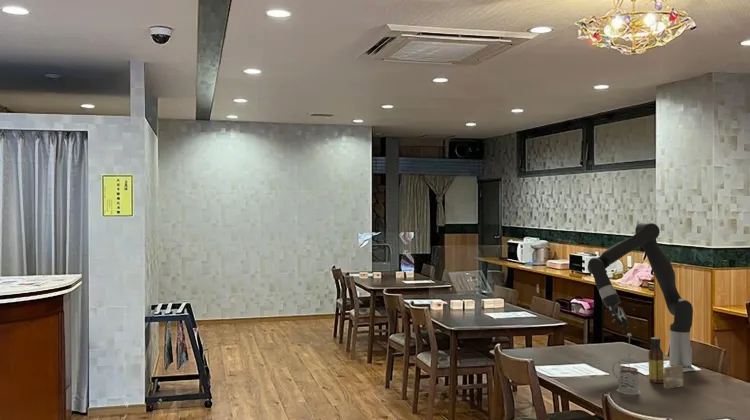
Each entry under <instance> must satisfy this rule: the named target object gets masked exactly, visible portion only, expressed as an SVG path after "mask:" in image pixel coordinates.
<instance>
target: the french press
mask: <svg viewBox="0 0 750 420" xmlns="http://www.w3.org/2000/svg"><path fill="white" fill-rule="evenodd" d="M626 337H628V351H630V350H631V349H630V347H631V346H630V344H631V343H630V342H631V339H630V337H632V333H631V332H629V333H627V334H626ZM618 359H619V360H617V361H615V362H614V363H613V365H612V366H611V368H612V370H611V372H612V374H613V376H614V377H615V378H616V379H618V387H617V389H616V392H618V393H619V394H625V395H631V396H632V395H634V396H636V395H639V394H641V393H642V392H641V391H640V389H639V372H638V370H639V369H638V368H637V367H633V366H632V367H631V366H620V365H621V362H625V363H629V364H631V363H632V364H633V363H639V362H640V359H639V358H637V357H635V356H634V355H630V354H628V355H622V356H621V357H619V358H618ZM617 363H618V365H619V366H620V368H619V369H620V370H619V375H616V373H615V365H616V364H617Z"/></svg>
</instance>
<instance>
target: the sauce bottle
mask: <svg viewBox="0 0 750 420" xmlns="http://www.w3.org/2000/svg"><path fill="white" fill-rule="evenodd" d="M650 343H651V344H650V349H649V351H648V379H649V382H651V383H653V384H664V366H665V365H664V352H663V351H662V349H661V338H660V337H650Z"/></svg>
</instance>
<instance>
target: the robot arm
mask: <svg viewBox="0 0 750 420" xmlns="http://www.w3.org/2000/svg"><path fill="white" fill-rule="evenodd" d="M634 231H635V234H634V235H632V236H630V237H629V238H627V239H623V240H622V241H619V242H618V243H615V244H614V245H612V246H611V247H609V248H608V249H606V250H604V251H603V252H602V254H601V255H600V256H598V257H592V258H590V259H589V260H588V263H587V272H588V273H589V274H590V275H592V276H593V279H594V283H595V286H596V288H597V290H598V292H599V296H600V297H601V301H602V302H603V304H604V306H605V308H607V310H608V312H609V315H610V317H611V319H612V320H614V321H615V323H616V326H617V328H622V327H623V328H625V329H627V328H630V325H629V322H628V320H627V319H628V316H627V315H626V312H625V311H624V307H622V306H619V304H621V302H622V301H621V299H620V296H619V294H618V292H617V291H616V288H615V287H614V285H613V284H612V282H611V279H610V278H609V276H608V272H607V270H606V269H607V268H608V267H610V265H612V264H614V263H615V262H617V261H619V260H620V259H622V258H623V257H624V256H626V255H627V254H629V253H631V252H632V251H634V250H636V249H638V248H640V247H641V246H642V249H643V250H644V253H645V255H646V258H647V260H648V262H649V265H650V267H651V270H652V273H653V274H654V278H655V279H656V280H657V284H658V285H659V288H660V290H661V292H662V294H663V298H664V301H665V304H666V308H667V310H668V312H669V313H670V314H671V315H672V316H673V322H672V323H670V325H669V363H668V364H669V365H670V366H676V365H681V366H683V368H689V367H692V366H693V365H692V362H693V361H692V354H693V350H692V349H693V347H692V346H691V328H692V327H693V320H694V319H693V316H694V308H693V305H692V303H691V302H690V301H689V300H686V299H683V298H682V297H681V295H680V294H679V291H678V288H677V286H676V272H675V269H674V268H673V265H672V263H671V261H670V259H669V258H668V256H667V255H666V254H665V252H663V250H662V249H661V247H660V245H659V244H658V242H657V238H658V237H659V236H660V228H659V226H658V225H657V224H656V223H653V222H648V221H647V222H645V221H642V222H639V223H637V225H636V226H635V230H634ZM688 366H689V367H688Z"/></svg>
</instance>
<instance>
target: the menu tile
mask: <svg viewBox="0 0 750 420" xmlns="http://www.w3.org/2000/svg"><path fill="white" fill-rule="evenodd" d="M678 386H681V387H683V386H684V367H683V366H681V365H676V366H673V365H670V366H665V367H664V382H663V388H664V389H666V390H669V389H670V388H671V389H675V388H674V387H676V388H679V387H678Z"/></svg>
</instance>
